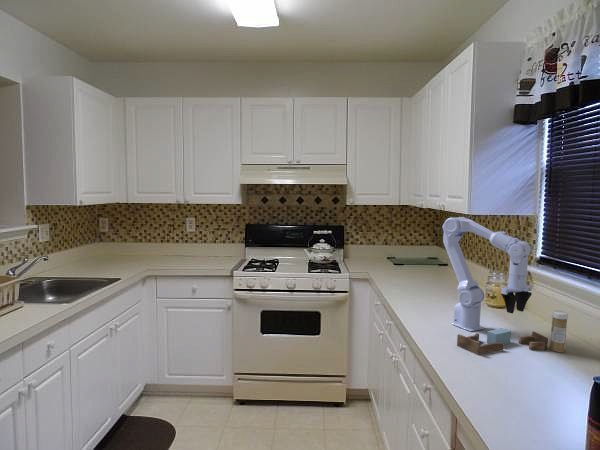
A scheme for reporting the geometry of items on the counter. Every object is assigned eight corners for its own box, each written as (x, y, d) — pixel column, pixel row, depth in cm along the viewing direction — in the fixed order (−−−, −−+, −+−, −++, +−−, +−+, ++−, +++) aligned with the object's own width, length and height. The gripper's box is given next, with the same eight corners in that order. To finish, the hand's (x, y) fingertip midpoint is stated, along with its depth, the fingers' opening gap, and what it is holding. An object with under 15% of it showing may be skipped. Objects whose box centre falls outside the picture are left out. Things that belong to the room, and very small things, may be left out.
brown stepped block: (530, 350, 142) (531, 338, 142) (518, 343, 149) (519, 332, 148) (547, 349, 143) (547, 338, 143) (534, 342, 150) (534, 331, 149)
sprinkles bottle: (551, 346, 146) (554, 309, 145) (566, 350, 143) (569, 312, 142) (547, 350, 143) (551, 311, 141) (563, 353, 140) (566, 314, 138)
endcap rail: (454, 344, 146) (454, 333, 145) (476, 339, 151) (477, 328, 151) (480, 356, 136) (481, 344, 136) (503, 350, 141) (504, 339, 141)
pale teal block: (486, 343, 148) (487, 331, 148) (501, 340, 152) (502, 328, 151) (495, 346, 145) (496, 334, 145) (510, 343, 149) (510, 331, 148)
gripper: (514, 278, 143) (512, 317, 144) (541, 275, 150) (538, 312, 151) (496, 274, 149) (494, 311, 150) (522, 271, 156) (520, 307, 157)
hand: (515, 311), depth 151 cm, fingers open, 5 cm apart
